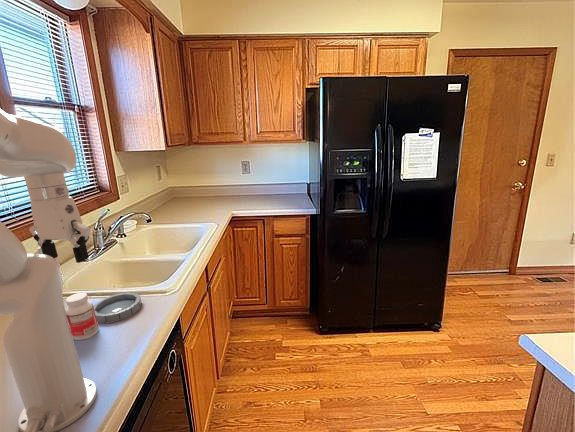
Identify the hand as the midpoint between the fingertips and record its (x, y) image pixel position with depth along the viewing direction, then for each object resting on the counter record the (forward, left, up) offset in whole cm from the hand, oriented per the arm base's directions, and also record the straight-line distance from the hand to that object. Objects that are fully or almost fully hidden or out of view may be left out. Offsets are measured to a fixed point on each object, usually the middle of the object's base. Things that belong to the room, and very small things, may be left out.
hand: (67, 259), depth 81 cm
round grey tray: (+10, -6, -21) cm, 24 cm away
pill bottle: (0, 0, -22) cm, 22 cm away
